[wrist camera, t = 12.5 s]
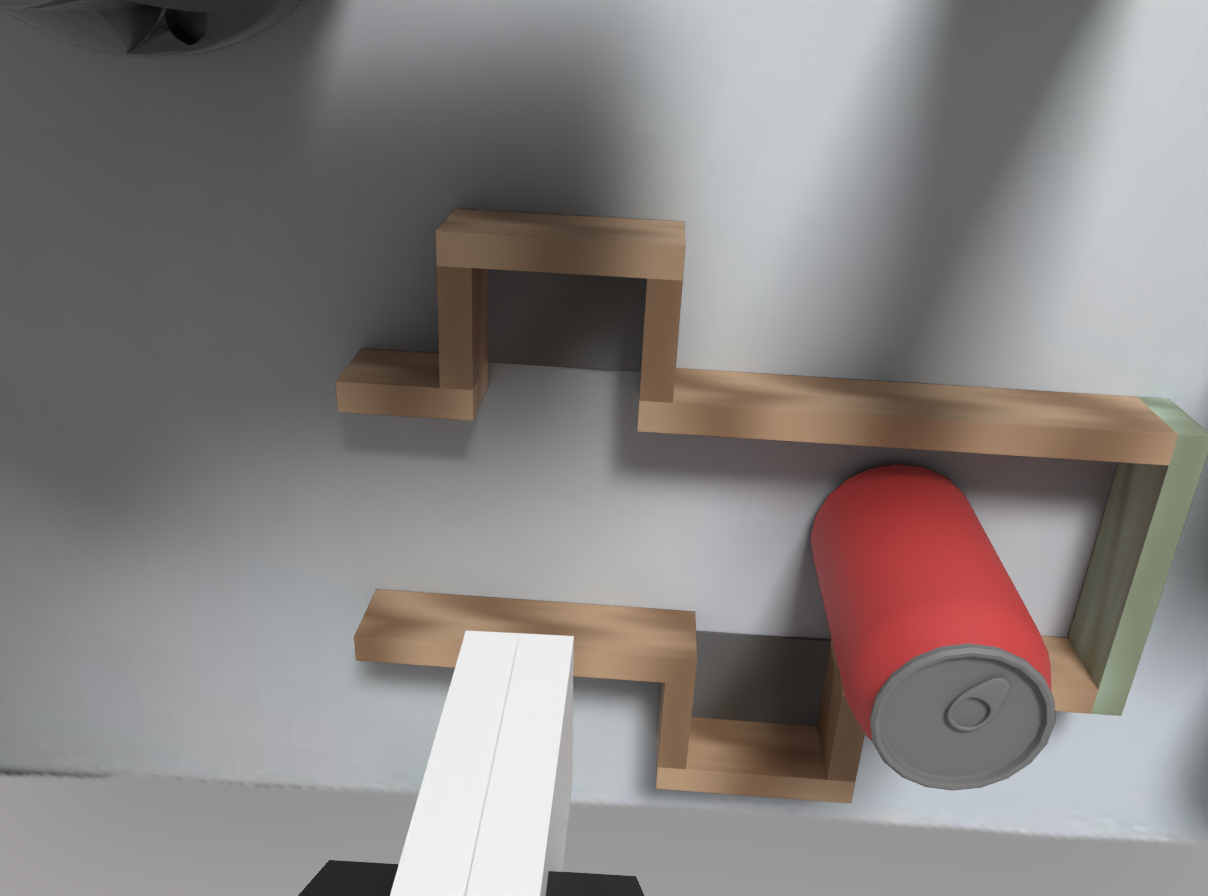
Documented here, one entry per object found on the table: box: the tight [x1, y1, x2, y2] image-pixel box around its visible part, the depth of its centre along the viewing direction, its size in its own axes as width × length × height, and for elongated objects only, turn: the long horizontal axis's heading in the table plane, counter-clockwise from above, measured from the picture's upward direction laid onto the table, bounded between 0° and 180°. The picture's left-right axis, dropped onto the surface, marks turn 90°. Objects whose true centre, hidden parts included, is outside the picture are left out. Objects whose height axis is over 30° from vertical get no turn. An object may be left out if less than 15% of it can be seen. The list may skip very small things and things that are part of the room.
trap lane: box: [335, 209, 1208, 803], centre depth 41 cm, size 31×24×4 cm
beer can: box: [810, 464, 1055, 790], centre depth 37 cm, size 7×7×12 cm
